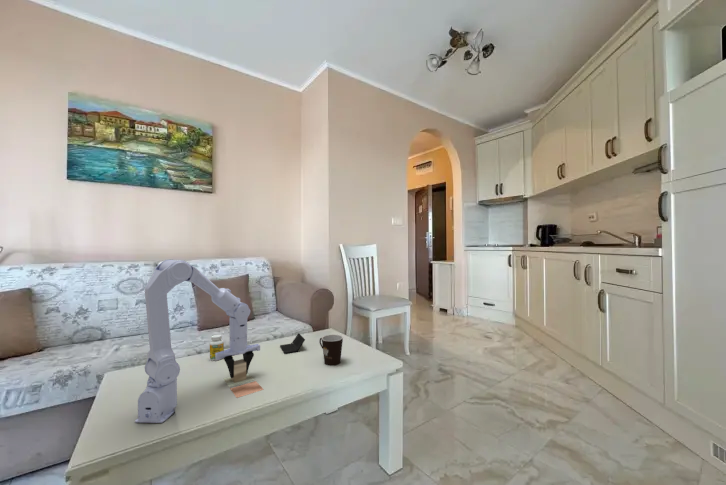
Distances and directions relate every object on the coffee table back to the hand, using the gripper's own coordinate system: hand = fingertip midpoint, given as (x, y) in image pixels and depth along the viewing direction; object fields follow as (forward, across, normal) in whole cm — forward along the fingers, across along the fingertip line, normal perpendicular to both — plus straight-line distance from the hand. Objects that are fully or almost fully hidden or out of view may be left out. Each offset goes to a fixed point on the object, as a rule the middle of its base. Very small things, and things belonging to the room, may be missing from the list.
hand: (238, 375), depth 105 cm
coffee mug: (+3, +36, -4) cm, 36 cm away
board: (+3, 0, -4) cm, 5 cm away
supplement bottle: (+3, -1, +29) cm, 29 cm away
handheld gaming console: (+3, +29, +19) cm, 35 cm away
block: (+1, 0, 0) cm, 1 cm away
